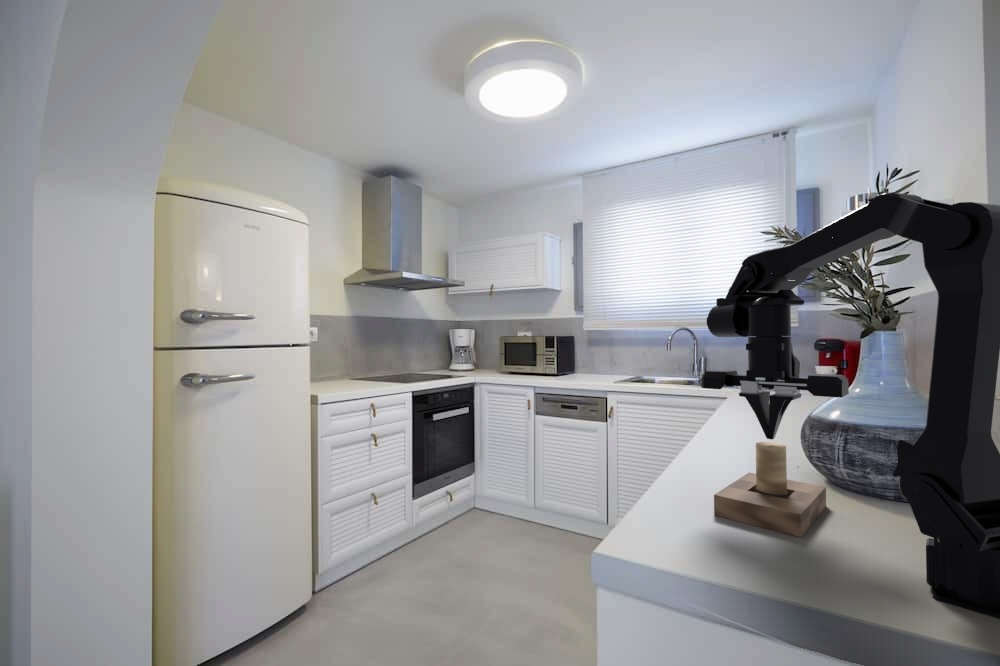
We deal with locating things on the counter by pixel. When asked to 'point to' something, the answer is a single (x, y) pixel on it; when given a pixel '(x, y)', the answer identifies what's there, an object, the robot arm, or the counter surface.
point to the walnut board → (771, 505)
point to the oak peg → (771, 469)
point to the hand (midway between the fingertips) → (770, 438)
